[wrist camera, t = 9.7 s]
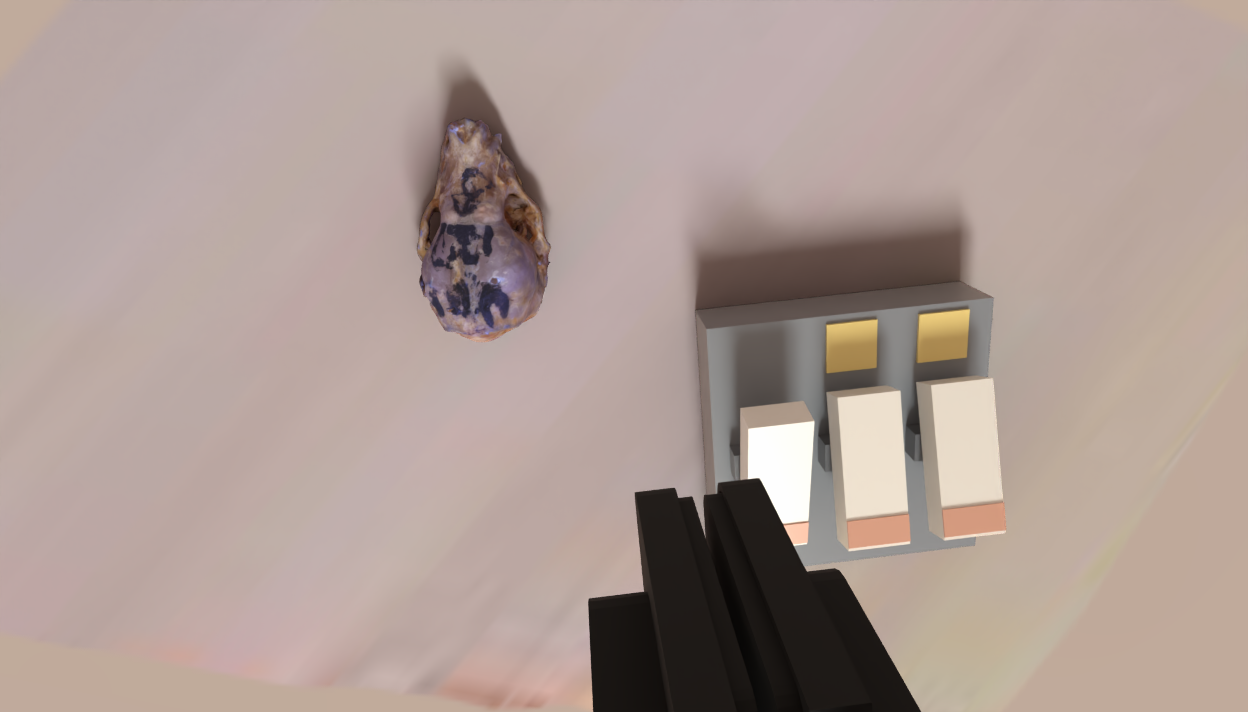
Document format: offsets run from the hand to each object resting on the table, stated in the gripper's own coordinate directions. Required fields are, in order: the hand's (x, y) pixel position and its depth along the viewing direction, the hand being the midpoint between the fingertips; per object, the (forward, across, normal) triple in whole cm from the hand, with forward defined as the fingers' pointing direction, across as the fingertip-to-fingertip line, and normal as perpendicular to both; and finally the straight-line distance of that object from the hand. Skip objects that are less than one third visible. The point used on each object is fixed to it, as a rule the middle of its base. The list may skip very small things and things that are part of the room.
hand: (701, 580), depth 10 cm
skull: (+38, +6, +1) cm, 38 cm away
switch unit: (+37, -14, +16) cm, 43 cm away
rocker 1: (+30, -8, +16) cm, 35 cm away
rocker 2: (+30, -14, +16) cm, 37 cm away
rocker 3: (+30, -20, +16) cm, 39 cm away
